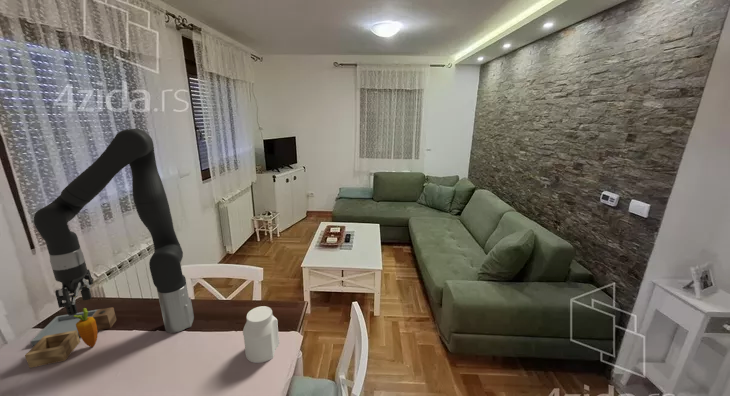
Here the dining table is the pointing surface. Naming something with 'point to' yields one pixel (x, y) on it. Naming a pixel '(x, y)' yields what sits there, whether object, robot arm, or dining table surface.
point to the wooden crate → (52, 349)
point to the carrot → (87, 328)
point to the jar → (260, 335)
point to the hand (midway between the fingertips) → (80, 306)
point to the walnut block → (104, 318)
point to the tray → (61, 325)
